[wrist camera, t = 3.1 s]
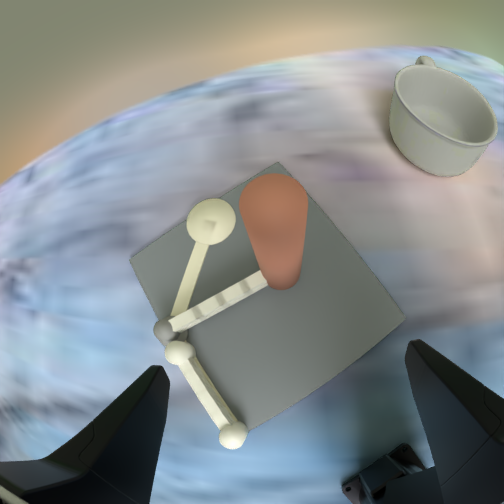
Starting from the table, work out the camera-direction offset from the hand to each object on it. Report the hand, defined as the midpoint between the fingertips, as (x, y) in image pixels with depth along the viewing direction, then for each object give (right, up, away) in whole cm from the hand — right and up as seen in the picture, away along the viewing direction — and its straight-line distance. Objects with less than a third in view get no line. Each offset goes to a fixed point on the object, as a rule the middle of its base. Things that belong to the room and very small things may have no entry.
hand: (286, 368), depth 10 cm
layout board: (-1, +1, +14) cm, 14 cm away
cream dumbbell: (-4, -7, +12) cm, 14 cm away
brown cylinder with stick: (-3, 0, +13) cm, 14 cm away
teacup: (+18, +17, +17) cm, 30 cm away
